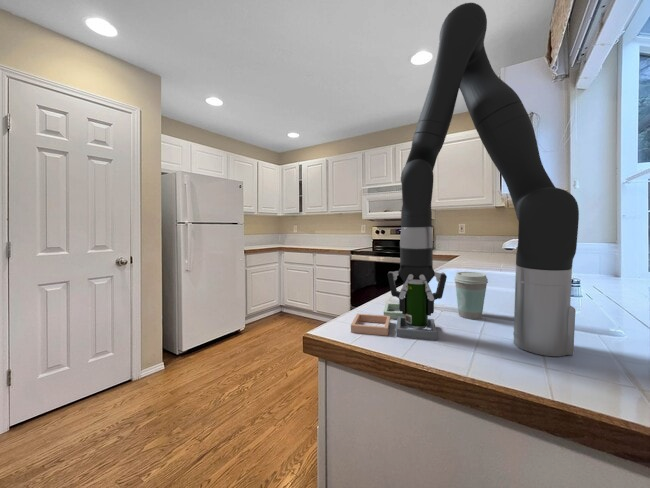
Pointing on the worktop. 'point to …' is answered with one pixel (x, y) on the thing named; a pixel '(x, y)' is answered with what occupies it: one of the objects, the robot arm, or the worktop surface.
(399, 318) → the charcoal frame
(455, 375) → the worktop surface
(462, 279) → the coffee cup
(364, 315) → the terracotta frame
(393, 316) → the sage frame
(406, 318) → the beer can
